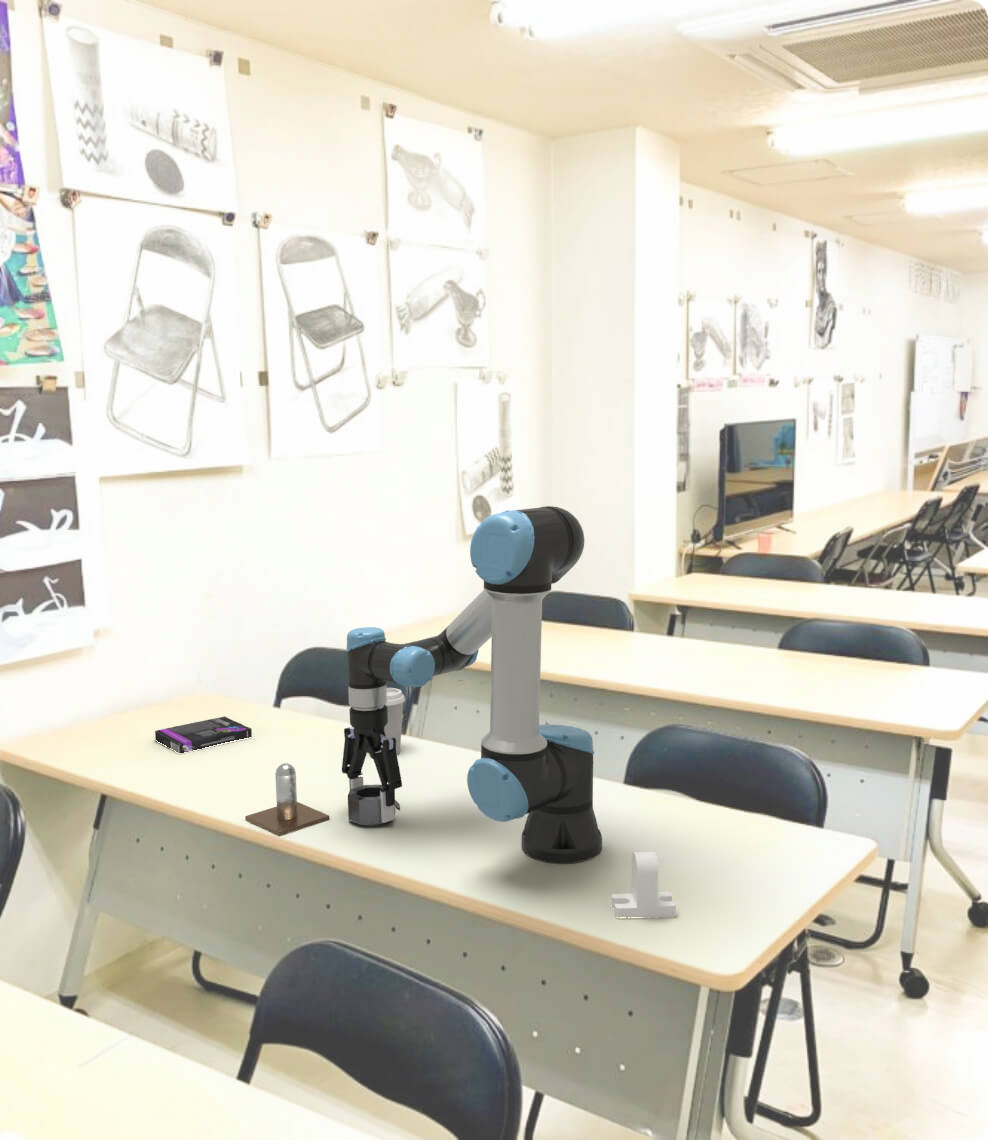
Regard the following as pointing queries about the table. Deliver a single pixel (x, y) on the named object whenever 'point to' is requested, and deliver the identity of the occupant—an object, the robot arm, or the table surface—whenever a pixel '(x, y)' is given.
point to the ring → (365, 805)
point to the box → (202, 734)
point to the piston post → (286, 807)
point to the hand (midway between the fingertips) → (372, 814)
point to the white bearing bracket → (644, 891)
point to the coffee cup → (394, 716)
